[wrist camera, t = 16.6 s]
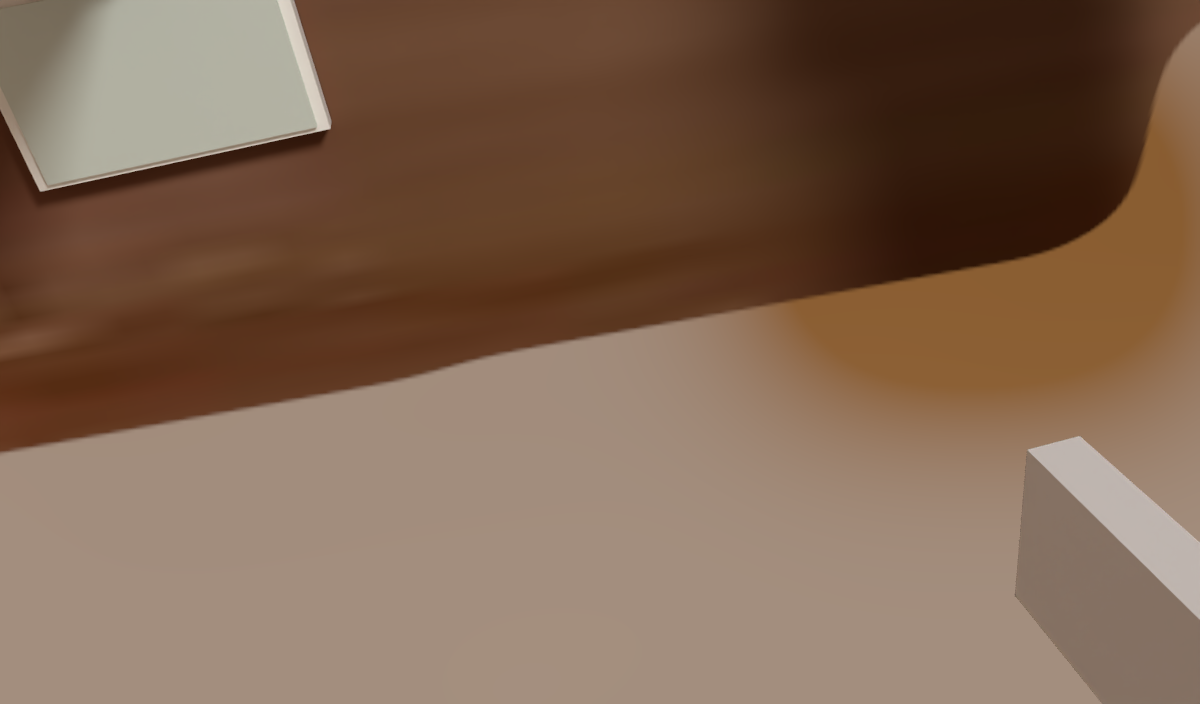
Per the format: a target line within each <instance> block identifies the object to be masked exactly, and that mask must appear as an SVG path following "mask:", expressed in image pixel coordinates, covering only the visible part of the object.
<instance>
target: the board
mask: <svg viewBox="0 0 1200 704" xmlns="http://www.w3.org/2000/svg"><path fill="white" fill-rule="evenodd" d="M0 110H1V112H2V115H3V117H4V119H5V121H6V123H7V125H8V127H9V129H10V131H11V133H12V135H13V137H14V139H15V141H16V143H17V145H18V147H19V149H20V151H21V153H22V156H23V158H24V160H25V162H26V164H27V166H28V168H29V170H30V172H31V174H32V176H33V178H34V180H35V182H36V184H37V186H38V188H39V190H40V192H41V191H46V190H51V189H55V188H60V187H64V186H69V185H74V184H78V183H83V182H87V181H92V180H97V179H101V178H106V177H111V176H115V175H120V174H124V173H129V172H134V171H138V170H143V169H148V168H152V167H157V166H161V165H166V164H171V163H175V162H180V161H184V160H189V159H194V158H198V157H203V156H208V155H212V154H217V153H221V152H226V151H231V150H235V149H240V148H245V147H249V146H254V145H258V144H263V143H268V142H272V141H277V140H282V139H286V138H291V137H295V136H300V135H305V134H309V133H314V132H318V131H323V130H328V129H331V118H330V115H329V112H328V109H327V105H326V102H325V99H324V96H323V93H322V89H321V86H320V83H319V80H318V76H317V73H316V70H315V67H314V63H313V60H312V57H311V54H310V51H309V47H308V44H307V41H306V38H305V34H304V31H303V28H302V25H301V21H300V18H299V15H298V12H297V9H296V5H295V2H294V0H0Z"/></svg>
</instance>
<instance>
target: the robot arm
mask: <svg viewBox="0 0 1200 704" xmlns="http://www.w3.org/2000/svg"><path fill="white" fill-rule="evenodd" d="M1015 596H1016V597H1017V599H1018V600H1019V601H1020V602H1021V603H1022V605H1023V606H1024V607H1025V608H1026V610H1027V611H1028V612H1029V613H1030V615H1031V616H1032V617H1033V618H1034V620H1035V621H1036V622H1037V623H1038V625H1039V626H1040V627H1041V628H1042V629H1043V631H1044V632H1045V633H1046V634H1047V636H1048V637H1049V638H1050V639H1051V641H1052V642H1053V643H1054V644H1055V646H1056V647H1057V648H1058V649H1059V650H1060V652H1061V653H1062V654H1063V655H1064V657H1065V658H1066V659H1067V661H1068V662H1069V663H1070V664H1071V665H1072V667H1073V668H1074V669H1075V670H1076V672H1077V673H1078V674H1079V675H1080V677H1081V678H1082V679H1083V680H1084V682H1085V683H1086V684H1087V685H1088V687H1089V688H1090V689H1091V690H1092V692H1093V693H1094V694H1095V695H1096V696H1097V698H1098V699H1099V700H1100V702H1101V703H1102V704H1200V542H1199V541H1197V540H1196V539H1195V538H1194V537H1193V536H1192V535H1191V534H1190V533H1188V532H1187V531H1186V530H1185V529H1184V528H1183V527H1181V526H1180V525H1179V524H1178V523H1177V522H1176V521H1175V520H1174V519H1172V517H1170V516H1169V515H1168V514H1167V513H1166V512H1165V511H1164V510H1162V509H1161V508H1160V507H1159V506H1158V505H1157V504H1156V503H1154V502H1153V501H1152V500H1151V499H1150V498H1149V497H1148V496H1147V495H1146V494H1144V493H1143V492H1142V491H1141V490H1140V489H1139V488H1138V487H1137V486H1135V485H1134V484H1133V483H1132V482H1131V481H1130V480H1128V478H1126V477H1125V476H1124V475H1123V474H1122V473H1121V472H1120V471H1118V470H1117V469H1116V468H1115V467H1114V466H1113V465H1112V464H1110V462H1108V461H1107V460H1106V459H1105V458H1104V457H1103V456H1102V455H1100V454H1099V453H1098V452H1097V451H1096V450H1095V449H1094V448H1093V447H1091V446H1090V445H1089V444H1088V443H1087V442H1086V441H1085V440H1084V439H1082V438H1081V437H1080V436H1078V437H1074V438H1070V439H1067V440H1063V441H1059V442H1055V443H1051V444H1047V445H1043V446H1040V447H1036V448H1032V449H1029V450H1027V456H1026V470H1025V481H1024V493H1023V505H1022V517H1021V529H1020V541H1019V555H1018V566H1017V578H1016V590H1015Z"/></svg>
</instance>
